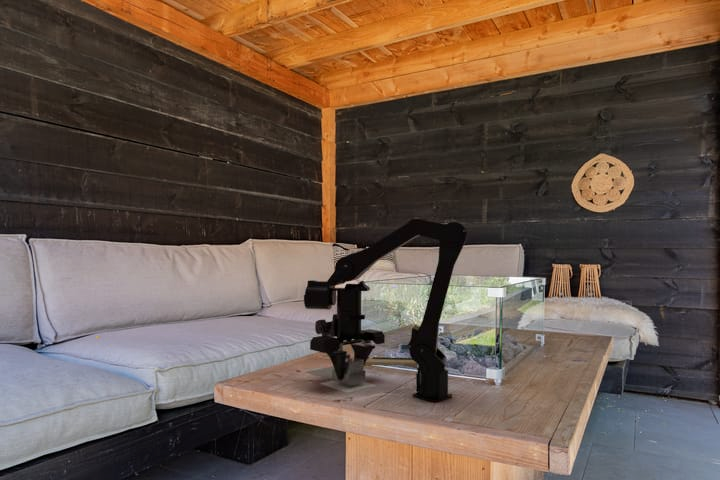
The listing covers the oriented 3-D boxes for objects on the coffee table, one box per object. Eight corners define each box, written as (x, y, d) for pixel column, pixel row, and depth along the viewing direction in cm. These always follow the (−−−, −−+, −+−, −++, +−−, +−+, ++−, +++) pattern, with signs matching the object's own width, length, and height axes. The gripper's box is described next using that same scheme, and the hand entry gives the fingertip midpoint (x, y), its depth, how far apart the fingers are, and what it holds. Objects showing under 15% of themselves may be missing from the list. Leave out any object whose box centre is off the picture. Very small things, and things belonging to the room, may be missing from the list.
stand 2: (377, 391, 110) (377, 385, 110) (347, 399, 104) (347, 392, 104) (348, 383, 117) (348, 376, 117) (319, 389, 111) (319, 383, 111)
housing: (348, 376, 115) (348, 353, 115) (365, 381, 110) (365, 357, 110) (332, 380, 111) (332, 356, 111) (349, 385, 107) (349, 360, 107)
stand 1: (357, 379, 121) (357, 373, 121) (330, 385, 115) (330, 379, 115) (332, 372, 128) (332, 366, 128) (305, 377, 122) (305, 371, 122)
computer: (415, 366, 138) (415, 354, 138) (417, 372, 130) (418, 360, 130) (361, 365, 139) (361, 353, 139) (360, 372, 131) (360, 359, 131)
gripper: (355, 304, 123) (354, 365, 123) (296, 310, 111) (295, 377, 110) (386, 308, 115) (386, 373, 115) (326, 314, 103) (325, 387, 102)
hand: (348, 377), depth 111 cm, fingers closed on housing, 5 cm apart
